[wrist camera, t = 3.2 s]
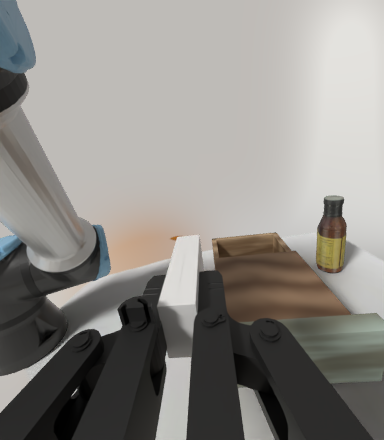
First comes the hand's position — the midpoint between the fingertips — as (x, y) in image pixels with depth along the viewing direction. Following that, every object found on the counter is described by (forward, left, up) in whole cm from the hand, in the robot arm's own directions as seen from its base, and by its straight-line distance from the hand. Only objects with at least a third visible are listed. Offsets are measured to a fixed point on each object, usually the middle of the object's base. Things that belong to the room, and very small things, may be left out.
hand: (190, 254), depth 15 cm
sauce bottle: (-17, +47, -29) cm, 58 cm away
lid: (-10, +18, -22) cm, 30 cm away
